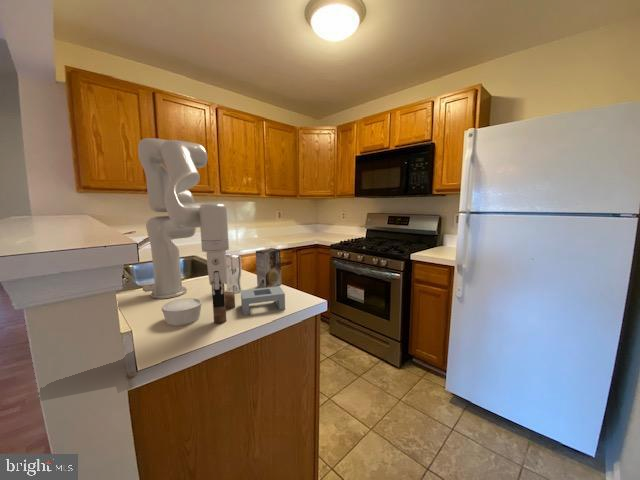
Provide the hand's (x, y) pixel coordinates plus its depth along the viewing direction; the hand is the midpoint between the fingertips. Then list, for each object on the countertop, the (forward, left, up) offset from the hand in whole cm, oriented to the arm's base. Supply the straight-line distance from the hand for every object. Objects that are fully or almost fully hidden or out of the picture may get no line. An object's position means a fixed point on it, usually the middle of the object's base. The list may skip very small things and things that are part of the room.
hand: (219, 303), depth 82 cm
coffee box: (+20, +31, -6) cm, 37 cm away
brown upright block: (+3, +11, -6) cm, 13 cm away
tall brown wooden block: (0, 0, -6) cm, 6 cm away
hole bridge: (+14, +7, -6) cm, 17 cm away
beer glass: (+5, +29, -6) cm, 30 cm away
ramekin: (-11, +6, -6) cm, 14 cm away
